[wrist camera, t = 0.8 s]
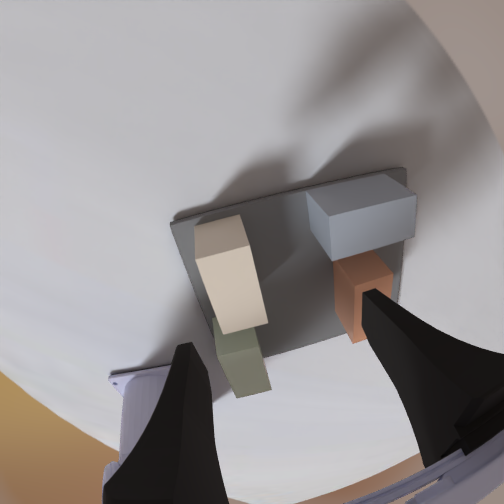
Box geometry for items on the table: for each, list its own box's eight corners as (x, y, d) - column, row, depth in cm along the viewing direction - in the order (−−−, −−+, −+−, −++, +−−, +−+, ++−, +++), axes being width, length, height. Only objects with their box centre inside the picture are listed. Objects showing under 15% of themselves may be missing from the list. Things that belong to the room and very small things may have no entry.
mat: (392, 312, 29) (395, 315, 28) (226, 362, 28) (226, 367, 28) (402, 167, 21) (406, 169, 20) (170, 222, 20) (169, 225, 20)
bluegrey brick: (384, 173, 20) (416, 194, 17) (384, 211, 22) (414, 236, 19) (305, 190, 20) (328, 216, 17) (310, 230, 22) (332, 261, 18)
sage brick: (262, 354, 28) (271, 389, 24) (230, 362, 28) (236, 398, 24) (249, 308, 24) (258, 346, 21) (212, 318, 24) (216, 356, 21)
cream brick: (257, 285, 23) (268, 323, 20) (217, 296, 23) (223, 334, 20) (239, 214, 20) (249, 245, 17) (194, 226, 20) (195, 259, 17)
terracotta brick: (365, 300, 26) (386, 331, 23) (334, 310, 26) (352, 343, 23) (367, 244, 23) (393, 273, 20) (332, 254, 23) (354, 286, 20)
